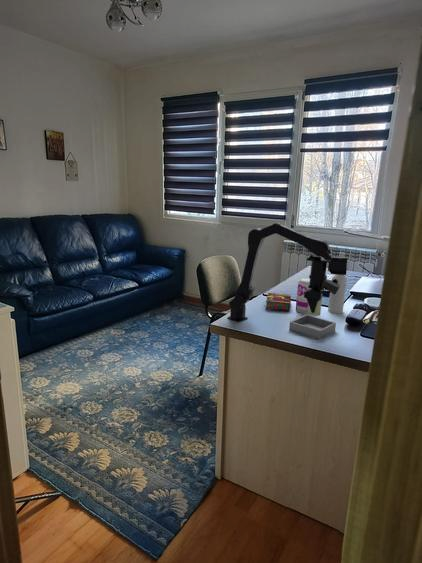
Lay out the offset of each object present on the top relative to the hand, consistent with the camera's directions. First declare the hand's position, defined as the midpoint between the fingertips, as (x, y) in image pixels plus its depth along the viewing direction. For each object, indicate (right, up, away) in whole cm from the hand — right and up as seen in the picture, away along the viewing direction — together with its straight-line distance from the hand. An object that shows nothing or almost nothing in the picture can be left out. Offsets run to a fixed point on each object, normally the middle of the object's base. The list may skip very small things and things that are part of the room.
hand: (314, 310), depth 143 cm
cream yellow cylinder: (0, -1, 0) cm, 1 cm away
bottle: (+18, -3, +27) cm, 32 cm away
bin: (0, -8, +2) cm, 8 cm away
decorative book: (-8, -1, +32) cm, 33 cm away
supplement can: (+3, -2, +26) cm, 26 cm away
